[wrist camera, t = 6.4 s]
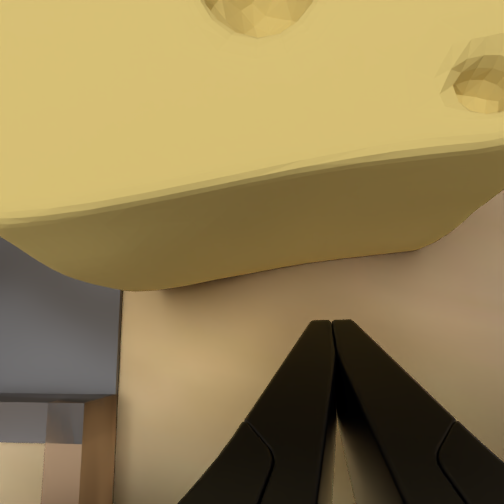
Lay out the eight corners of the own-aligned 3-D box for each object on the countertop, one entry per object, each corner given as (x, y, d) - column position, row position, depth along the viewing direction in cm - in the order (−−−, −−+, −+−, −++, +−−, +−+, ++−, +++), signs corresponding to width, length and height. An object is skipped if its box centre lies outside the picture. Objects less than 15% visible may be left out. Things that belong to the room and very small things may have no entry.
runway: (907, 798, 12) (1186, 1015, 8) (-98, 695, 16) (-232, 811, 12) (742, 42, 16) (878, -51, 12) (-30, 100, 20) (-114, 42, 16)
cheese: (382, 1, 18) (459, -379, 9) (433, 269, 16) (611, 165, 7) (130, 48, 19) (-53, -242, 10) (147, 304, 17) (-66, 262, 8)
